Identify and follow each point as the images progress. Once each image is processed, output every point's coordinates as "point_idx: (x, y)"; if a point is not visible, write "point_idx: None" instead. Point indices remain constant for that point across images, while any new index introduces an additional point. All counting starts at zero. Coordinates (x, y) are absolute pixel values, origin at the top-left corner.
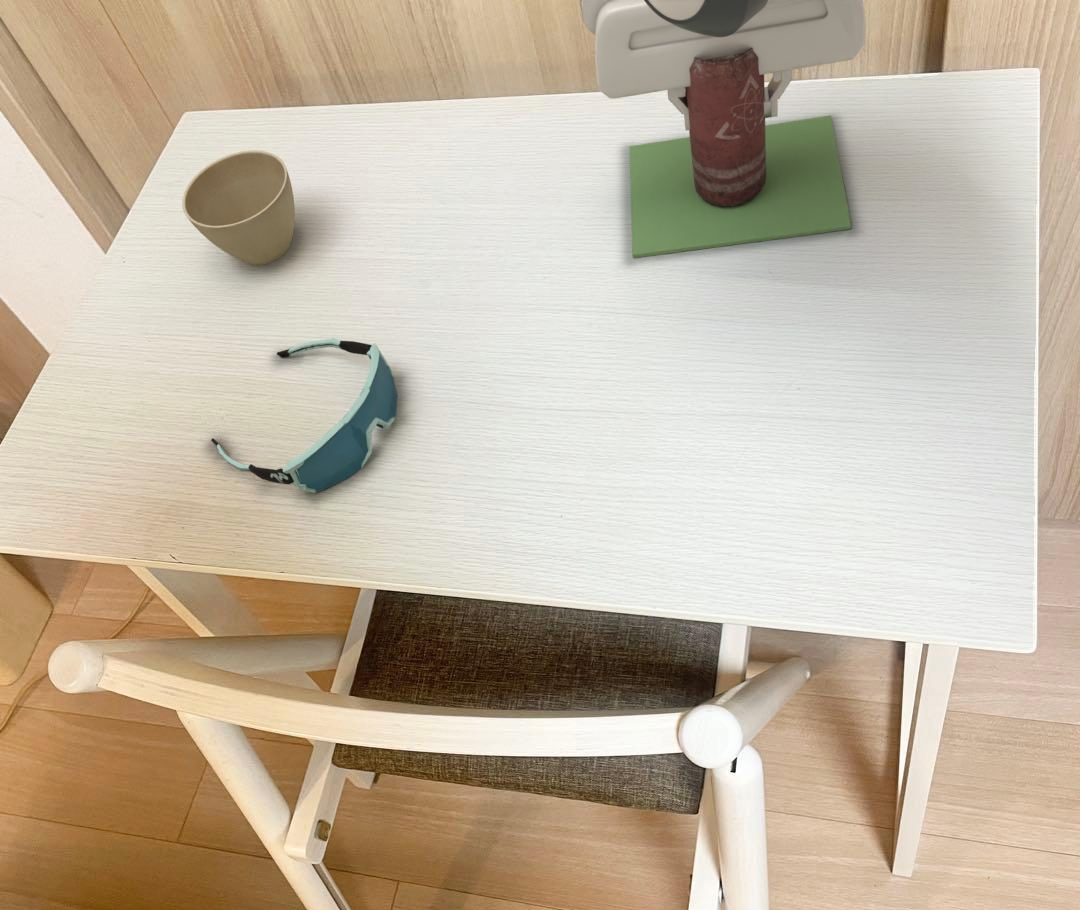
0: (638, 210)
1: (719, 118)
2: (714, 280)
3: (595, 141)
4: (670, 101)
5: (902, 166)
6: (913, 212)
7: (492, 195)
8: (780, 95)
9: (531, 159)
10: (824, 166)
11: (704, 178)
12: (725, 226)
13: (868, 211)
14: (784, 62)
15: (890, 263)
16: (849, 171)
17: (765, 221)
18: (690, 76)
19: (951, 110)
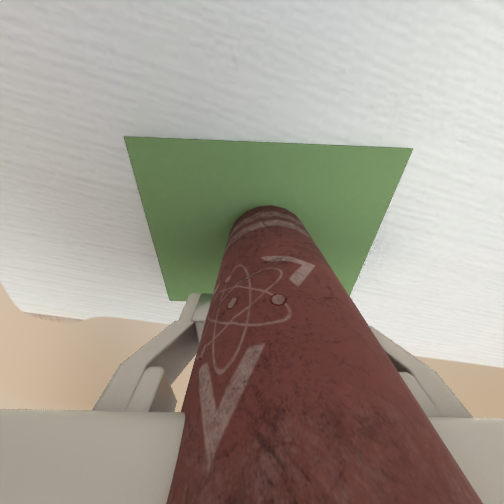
0: (371, 227)
1: (318, 296)
2: (319, 62)
3: (367, 316)
4: (424, 364)
5: (91, 230)
6: (55, 152)
7: (487, 281)
8: (167, 328)
9: (427, 310)
10: (169, 244)
11: (307, 232)
12: (283, 175)
13: (112, 167)
14: (57, 475)
15: (50, 33)
16: (145, 235)
17: (234, 172)
18: (476, 494)
19: (67, 285)
